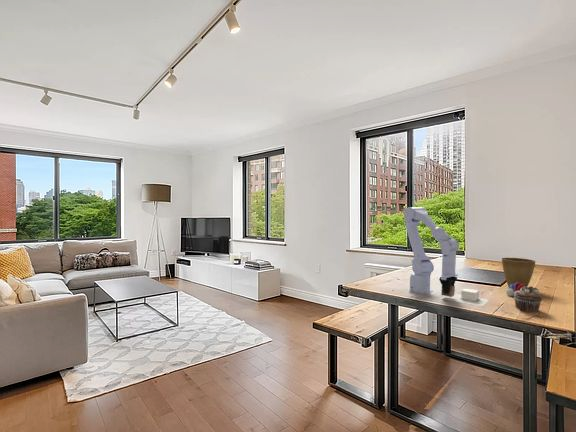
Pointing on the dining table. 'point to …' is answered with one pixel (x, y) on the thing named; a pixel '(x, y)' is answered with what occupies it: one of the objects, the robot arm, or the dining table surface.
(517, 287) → the multicoloured rounded cluster
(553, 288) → the dining table surface
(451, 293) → the walnut cube
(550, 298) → the dining table surface
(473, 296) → the base block
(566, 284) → the dining table surface
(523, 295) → the cupcake
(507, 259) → the plant pot
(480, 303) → the felt mat
